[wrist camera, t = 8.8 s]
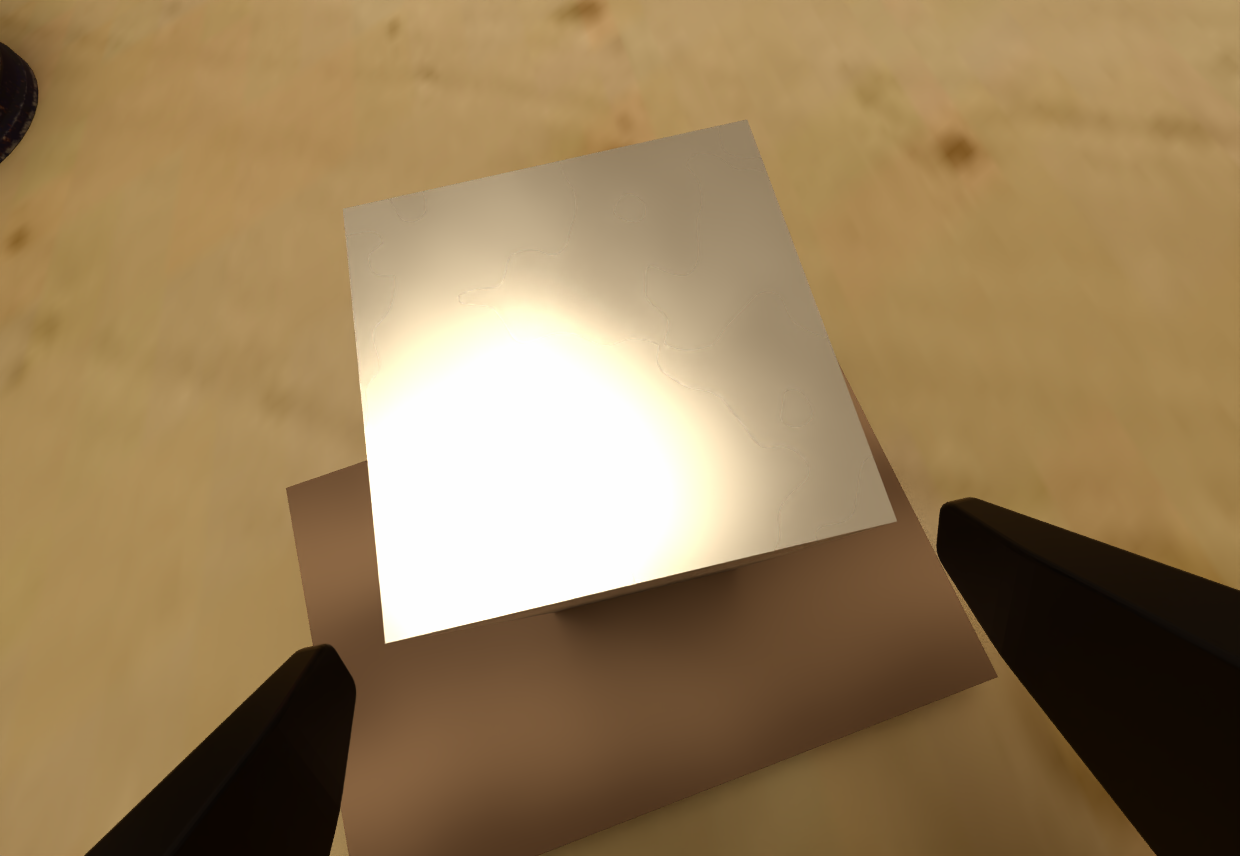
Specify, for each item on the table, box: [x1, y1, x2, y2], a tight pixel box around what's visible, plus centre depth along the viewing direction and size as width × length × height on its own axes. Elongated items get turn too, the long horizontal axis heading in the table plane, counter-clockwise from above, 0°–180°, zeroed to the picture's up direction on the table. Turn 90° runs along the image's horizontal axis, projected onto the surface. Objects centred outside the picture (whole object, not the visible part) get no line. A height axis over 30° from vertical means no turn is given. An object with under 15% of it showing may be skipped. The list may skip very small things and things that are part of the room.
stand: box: [286, 361, 998, 856], centre depth 18 cm, size 12×18×3 cm, turn 109°
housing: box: [343, 120, 897, 643], centre depth 12 cm, size 6×6×11 cm
